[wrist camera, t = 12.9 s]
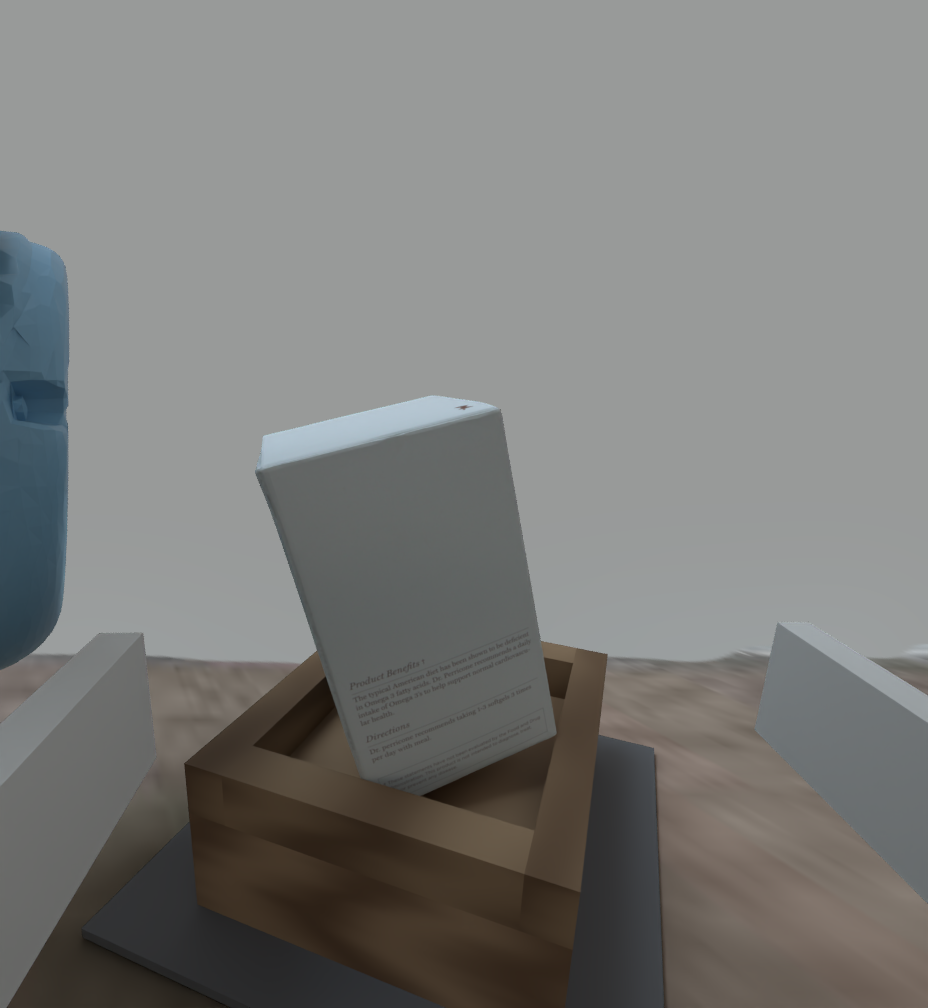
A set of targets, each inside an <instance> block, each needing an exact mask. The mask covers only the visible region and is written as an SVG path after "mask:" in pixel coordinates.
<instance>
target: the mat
mask: <svg viewBox="0 0 928 1008" xmlns="http://www.w3.org/2000/svg"><path fill="white" fill-rule="evenodd" d="M81 930H82V936H83V938H85V939H87V940H89V941H91V942H93V943H95V944H98V945H100V946H102V947H104V948H106V949H108V950H110V951H112V952H115V953H117V954H119V955H121V956H123V957H125V958H127V959H129V960H131V961H134V962H136V963H138V964H140V965H142V966H144V967H146V968H148V969H150V970H153V971H155V972H157V973H159V974H161V975H163V976H165V977H167V978H169V979H172V980H174V981H176V982H178V983H180V984H182V985H184V986H186V987H189V988H191V989H193V990H195V991H197V992H199V993H201V994H203V995H205V996H208V997H210V998H212V999H214V1000H216V1001H218V1002H220V1003H222V1004H224V1005H227V1006H229V1007H231V1008H446V1007H443V1006H441V1005H438V1004H436V1003H433V1002H431V1001H429V1000H426V999H424V998H421V997H419V996H417V995H414V994H412V993H409V992H407V991H405V990H402V989H400V988H397V987H395V986H393V985H390V984H388V983H385V982H383V981H381V980H378V979H376V978H373V977H371V976H369V975H366V974H364V973H361V972H359V971H356V970H354V969H352V968H349V967H347V966H344V965H342V964H340V963H337V962H335V961H332V960H330V959H328V958H325V957H323V956H320V955H318V954H316V953H313V952H311V951H308V950H306V949H304V948H301V947H299V946H296V945H294V944H292V943H289V942H287V941H284V940H282V939H280V938H277V937H275V936H272V935H270V934H267V933H265V932H263V931H260V930H258V929H255V928H253V927H251V926H248V925H246V924H243V923H241V922H239V921H236V920H234V919H231V918H229V917H227V916H224V915H222V914H219V913H217V912H215V911H212V910H210V909H207V908H205V907H203V906H200V905H198V904H197V895H196V884H195V873H194V862H193V851H192V841H191V830H190V822H189V823H188V824H187V825H186V826H185V827H184V828H183V829H182V830H181V831H179V832H178V833H177V834H176V835H175V836H174V837H173V838H172V839H171V840H170V841H169V842H168V843H167V844H166V845H165V846H164V847H163V848H162V849H161V850H160V851H159V852H158V853H157V854H156V855H155V856H154V857H153V858H152V859H151V860H150V861H149V862H148V863H147V864H146V865H145V866H144V867H143V868H142V869H141V870H140V871H139V872H138V873H137V874H136V875H135V876H134V877H133V878H132V879H131V880H130V881H129V882H128V883H127V884H126V885H125V886H124V887H123V888H122V889H121V890H120V891H119V892H118V893H117V894H116V895H115V896H114V897H113V898H112V899H111V900H110V901H109V902H108V903H107V904H106V905H105V906H104V907H103V908H102V909H101V910H100V911H99V912H98V913H97V914H96V915H94V916H93V917H92V918H91V919H90V920H89V921H88V922H87V923H86V924H85V925H84V926H83V927H82V928H81ZM565 1008H664V992H663V967H662V941H661V916H660V891H659V865H658V840H657V815H656V789H655V764H654V748H651V747H647V746H643V745H638V744H634V743H630V742H626V741H622V740H618V739H614V738H609V737H605V736H601V735H598V742H597V751H596V760H595V769H594V777H593V786H592V795H591V804H590V812H589V821H588V830H587V839H586V847H585V856H584V865H583V874H582V882H581V891H580V899H579V906H578V914H577V921H576V929H575V936H574V943H573V951H572V958H571V966H570V973H569V981H568V988H567V996H566V1003H565Z"/></svg>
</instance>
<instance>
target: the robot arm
mask: <svg viewBox="0 0 928 1008" xmlns="http://www.w3.org/2000/svg"><path fill="white" fill-rule="evenodd" d="M68 365H69V304H68V283H67V274H66V267H65V265H64V262H63V261H62V259H61V258H60V256H59V255H57V254H56V253H55V252H54V251H52V250H51V249H49V248H47V247H44V246H42V245H39V244H36V243H32V242H29V241H28V240H27V239H26V237H24V236H23V235H22V234H19V233H17V232H6V231H0V670H2V669H4V668H6V667H8V666H11V665H13V664H15V663H17V662H18V661H19V660H21V659H23V658H24V657H26V656H27V655H29V654H30V653H32V652H33V651H34V650H36V649H37V648H38V647H39V646H40V645H41V644H42V643H43V642H44V641H45V640H46V638H47V637H48V636H49V635H50V633H51V632H52V631H53V629H54V627H55V625H56V623H57V621H58V618H59V615H60V612H61V608H62V601H63V593H64V580H65V564H66V543H67V508H68V506H67V504H68V423H67V420H66V408H67V407H68ZM755 731H756V732H757V733H758V734H759V735H760V736H761V737H762V738H763V739H764V740H765V741H766V742H767V743H768V744H769V745H770V746H771V747H772V748H773V749H774V750H775V751H776V752H777V753H778V754H779V755H780V756H781V757H782V758H783V759H784V760H785V761H786V762H787V763H788V764H789V765H790V766H791V767H792V768H793V769H794V770H795V771H796V772H797V773H798V774H799V775H800V776H801V777H802V778H803V779H804V780H805V781H806V782H807V783H808V784H809V785H810V786H811V787H812V788H813V789H814V790H815V791H816V792H817V793H818V794H819V795H820V796H821V797H822V798H823V799H824V800H825V801H826V802H827V803H828V804H829V805H830V806H831V807H832V808H833V809H834V810H835V811H836V812H837V813H838V814H839V815H840V816H841V817H842V818H843V819H844V820H845V821H846V822H847V823H848V824H849V825H850V826H851V827H852V828H853V829H854V830H855V831H856V832H857V833H858V834H859V835H860V836H861V837H862V838H863V839H864V840H865V841H866V842H867V843H868V844H869V845H870V846H871V847H872V848H873V849H874V850H875V851H876V852H877V853H878V854H879V855H880V856H881V857H882V858H883V859H884V860H885V861H886V862H887V863H888V864H889V865H890V866H891V867H892V868H893V869H894V870H895V871H896V872H897V873H898V874H899V875H900V876H901V877H902V878H903V879H904V880H905V881H906V882H907V883H908V884H909V885H910V886H911V887H912V888H913V889H914V890H915V891H916V892H917V893H918V894H919V895H920V896H921V897H922V898H923V899H924V900H925V901H926V902H927V903H928V695H926V694H924V693H923V692H921V691H920V690H918V689H916V688H915V687H913V686H911V685H910V684H908V683H907V682H905V681H903V680H902V679H900V678H899V677H897V676H895V675H894V674H892V673H890V672H889V671H887V670H886V669H884V668H882V667H881V666H879V665H877V664H876V663H874V662H873V661H871V660H869V659H868V658H866V657H864V656H863V655H861V654H860V653H858V652H856V651H855V650H853V649H851V648H850V647H848V646H846V645H845V644H843V643H842V642H840V641H838V640H836V639H835V638H833V637H832V636H830V635H829V634H827V633H826V632H824V631H822V630H821V629H819V628H817V627H816V626H814V625H812V624H811V623H809V622H781V623H780V622H778V623H777V627H776V632H775V636H774V641H773V646H772V650H771V655H770V660H769V664H768V669H767V674H766V678H765V683H764V688H763V692H762V697H761V702H760V706H759V711H758V716H757V721H756V725H755ZM155 759H156V748H155V738H154V729H153V720H152V710H151V701H150V692H149V682H148V673H147V664H146V654H145V646H144V636H143V633H99V634H98V635H97V636H95V638H93V639H92V640H91V641H90V642H89V643H88V644H87V645H86V646H85V647H83V648H82V649H81V650H80V651H79V652H78V653H77V654H76V655H75V656H74V657H73V658H71V659H70V660H69V661H68V662H67V663H66V664H65V665H64V666H63V667H62V668H61V669H59V670H58V671H57V672H56V673H55V674H54V675H53V676H52V677H51V678H50V679H49V680H47V681H46V682H45V683H44V684H43V685H42V686H41V687H40V688H39V689H38V690H37V691H35V692H34V693H33V694H32V695H31V696H30V697H29V698H28V699H27V700H26V701H25V702H23V703H22V704H21V705H20V706H19V707H18V708H17V709H16V710H15V711H14V712H13V713H11V714H10V715H9V716H8V717H7V718H6V719H5V720H4V721H3V722H2V723H1V724H0V1008H7V1006H8V1005H9V1003H10V1001H11V1000H12V998H13V996H14V995H15V993H16V991H17V990H18V988H19V986H20V985H21V983H22V981H23V980H24V978H25V976H26V975H27V973H28V971H29V970H30V968H31V966H32V965H33V963H34V961H35V960H36V958H37V956H38V955H39V953H40V951H41V950H42V948H43V946H44V945H45V943H46V941H47V939H48V938H49V936H50V934H51V933H52V931H53V929H54V928H55V926H56V924H57V923H58V921H59V919H60V918H61V916H62V914H63V913H64V911H65V909H66V908H67V906H68V904H69V903H70V901H71V899H72V898H73V896H74V894H75V893H76V891H77V889H78V888H79V886H80V884H81V883H82V881H83V879H84V878H85V876H86V874H87V873H88V871H89V869H90V868H91V866H92V864H93V863H94V861H95V859H96V858H97V856H98V854H99V853H100V851H101V849H102V848H103V846H104V844H105V843H106V841H107V839H108V838H109V836H110V834H111V833H112V831H113V829H114V828H115V826H116V824H117V823H118V821H119V819H120V818H121V816H122V814H123V813H124V811H125V809H126V808H127V806H128V804H129V803H130V801H131V799H132V798H133V796H134V794H135V793H136V791H137V789H138V788H139V786H140V784H141V783H142V781H143V779H144V778H145V776H146V774H147V773H148V771H149V769H150V768H151V766H152V764H153V762H154V761H155Z"/></svg>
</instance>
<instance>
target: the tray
mask: <svg viewBox="0 0 928 1008" xmlns="http://www.w3.org/2000/svg"><path fill="white" fill-rule="evenodd" d="M541 645H542V651H543V656H544V662H545V669H546V674H547V680H548V685H549V691H550V697H551V702H552V708H553V714H554V720H555V726H556V732H557V734H556V735H555V736H553V737H551V738H549V739H547V740H544V741H542V742H540V743H537V744H535V745H533V746H531V747H529V748H527V749H524V750H522V751H520V752H518V753H515V754H513V755H511V756H509V757H506V758H504V759H502V760H500V761H497V762H495V763H493V764H491V765H488V766H486V767H484V768H482V769H479V770H477V771H475V772H473V773H471V774H468V775H466V776H464V777H462V778H460V779H457V780H455V781H453V782H451V783H449V784H446V785H444V786H442V787H440V788H437V789H435V790H433V791H431V792H428V793H426V794H424V795H422V796H418V795H415V794H411V793H408V792H405V791H401V790H398V789H395V788H391V787H388V786H385V785H381V784H378V783H375V782H371V781H368V780H365V779H361V778H360V775H359V772H358V769H357V766H356V763H355V760H354V757H353V755H352V752H351V749H350V747H349V744H348V741H347V738H346V735H345V733H344V729H343V726H342V723H341V720H340V717H339V714H338V711H337V708H336V705H335V702H334V699H333V696H332V694H331V691H330V688H329V685H328V682H327V678H326V675H325V672H324V669H323V666H322V663H321V660H320V657H319V654H318V651H316V652H315V653H314V654H313V655H311V656H310V657H309V658H308V659H307V660H306V661H304V662H303V663H302V664H301V665H300V666H298V667H297V668H296V669H295V670H294V671H293V672H291V673H290V674H289V675H288V676H287V677H285V678H284V679H283V680H282V681H281V682H280V683H278V684H277V685H276V686H275V687H274V688H273V689H271V690H270V691H269V692H268V693H267V694H265V695H264V696H263V697H262V698H261V699H260V700H258V701H257V702H256V703H255V704H254V705H252V706H251V707H250V708H249V709H248V710H247V711H245V712H244V713H243V714H242V715H241V716H240V717H238V718H237V719H236V720H235V721H234V722H232V723H231V724H230V725H229V726H228V727H227V728H225V729H224V730H223V731H222V732H221V733H220V734H218V735H217V736H216V737H215V738H214V739H212V740H211V741H210V742H209V743H208V744H207V745H205V746H204V747H203V748H202V749H201V750H199V751H198V752H197V753H196V754H195V755H194V756H192V757H191V758H190V759H189V760H188V761H187V762H185V763H184V765H185V776H186V786H187V797H188V808H189V819H190V830H191V841H192V851H193V862H194V873H195V884H196V895H197V904H198V905H200V906H203V907H205V908H207V909H210V910H212V911H215V912H217V913H219V914H222V915H224V916H227V917H229V918H231V919H234V920H236V921H239V922H241V923H243V924H246V925H248V926H251V927H253V928H255V929H258V930H260V931H263V932H265V933H267V934H270V935H272V936H275V937H277V938H280V939H282V940H284V941H287V942H289V943H292V944H294V945H296V946H299V947H301V948H304V949H306V950H308V951H311V952H313V953H316V954H318V955H320V956H323V957H325V958H328V959H330V960H332V961H335V962H337V963H340V964H342V965H344V966H347V967H349V968H352V969H354V970H356V971H359V972H361V973H364V974H366V975H369V976H371V977H373V978H376V979H378V980H381V981H383V982H385V983H388V984H390V985H393V986H395V987H397V988H400V989H402V990H405V991H407V992H409V993H412V994H414V995H417V996H419V997H421V998H424V999H426V1000H429V1001H431V1002H433V1003H436V1004H438V1005H441V1006H443V1007H446V1008H565V1003H566V996H567V988H568V981H569V973H570V966H571V958H572V951H573V943H574V936H575V929H576V921H577V914H578V906H579V899H580V891H581V882H582V874H583V865H584V856H585V847H586V839H587V830H588V821H589V812H590V804H591V795H592V786H593V777H594V769H595V760H596V751H597V742H598V734H599V725H600V716H601V707H602V699H603V690H604V681H605V672H606V664H607V654H603V653H598V652H593V651H587V650H583V649H578V648H573V647H568V646H563V645H558V644H552V643H547V642H543V641H541Z"/></svg>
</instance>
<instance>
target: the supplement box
mask: <svg viewBox="0 0 928 1008" xmlns="http://www.w3.org/2000/svg"><path fill="white" fill-rule="evenodd" d="M255 473H256V476H257V479H258V481H259V484H260V486H261V488H262V491H263V493H264V496H265V498H266V501H267V504H268V506H269V509H270V511H271V514H272V517H273V520H274V522H275V525H276V528H277V531H278V534H279V537H280V540H281V543H282V546H283V549H284V552H285V555H286V557H287V561H288V564H289V567H290V570H291V573H292V576H293V579H294V582H295V585H296V588H297V591H298V594H299V597H300V599H301V603H302V605H303V608H304V612H305V614H306V617H307V621H308V624H309V626H310V630H311V633H312V636H313V639H314V642H315V645H316V648H317V651H318V654H319V657H320V660H321V663H322V666H323V669H324V672H325V675H326V678H327V682H328V685H329V688H330V691H331V694H332V696H333V699H334V702H335V705H336V708H337V711H338V714H339V717H340V720H341V723H342V726H343V729H344V733H345V735H346V738H347V741H348V744H349V747H350V749H351V752H352V755H353V757H354V760H355V763H356V766H357V769H358V772H359V775H360V778H361V779H365V780H368V781H371V782H375V783H378V784H381V785H385V786H388V787H391V788H395V789H398V790H401V791H405V792H408V793H411V794H415V795H418V796H422V795H424V794H426V793H428V792H431V791H433V790H435V789H437V788H440V787H442V786H444V785H446V784H449V783H451V782H453V781H455V780H457V779H460V778H462V777H464V776H466V775H468V774H471V773H473V772H475V771H477V770H479V769H482V768H484V767H486V766H488V765H491V764H493V763H495V762H497V761H500V760H502V759H504V758H506V757H509V756H511V755H513V754H515V753H518V752H520V751H522V750H524V749H527V748H529V747H531V746H533V745H535V744H537V743H540V742H542V741H544V740H547V739H549V738H551V737H553V736H555V735H556V734H557V732H556V726H555V720H554V714H553V708H552V702H551V697H550V691H549V685H548V680H547V674H546V669H545V662H544V656H543V651H542V645H541V640H540V634H539V628H538V623H537V617H536V611H535V606H534V599H533V594H532V587H531V582H530V576H529V570H528V565H527V559H526V553H525V548H524V542H523V535H522V530H521V524H520V518H519V512H518V506H517V500H516V495H515V490H514V484H513V478H512V472H511V466H510V460H509V455H508V449H507V443H506V437H505V430H504V424H503V418H502V413H501V409H499V408H497V407H495V406H492V405H489V404H486V403H482V402H477V401H470V400H463V399H456V398H449V397H442V396H427V397H423V398H419V399H415V400H411V401H406V402H402V403H398V404H394V405H389V406H385V407H381V408H377V409H373V410H368V411H364V412H359V413H355V414H351V415H347V416H343V417H339V418H335V419H331V420H326V421H322V422H318V423H315V424H311V425H307V426H302V427H299V428H294V429H290V430H286V431H282V432H277V433H273V434H269V435H265V436H263V440H262V450H261V453H260V457H259V460H258V463H257V467H256V470H255Z"/></svg>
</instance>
